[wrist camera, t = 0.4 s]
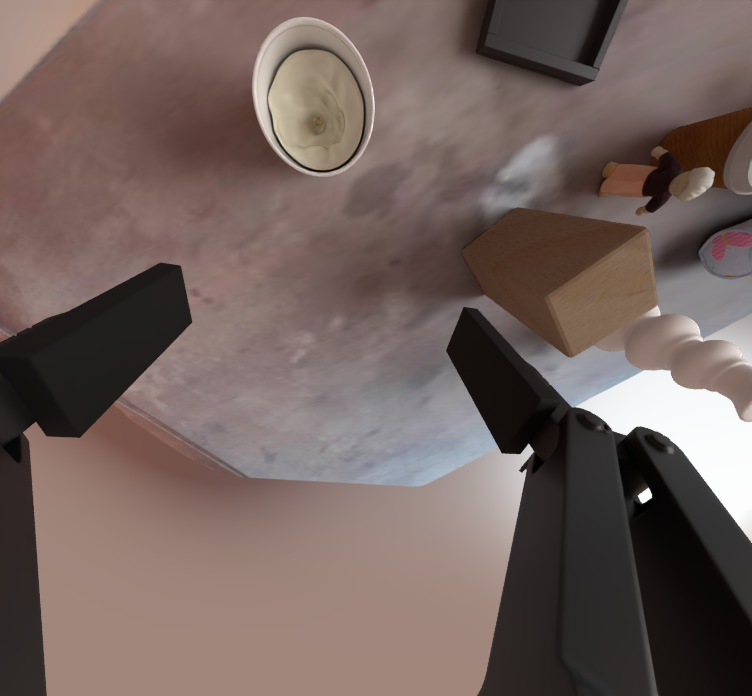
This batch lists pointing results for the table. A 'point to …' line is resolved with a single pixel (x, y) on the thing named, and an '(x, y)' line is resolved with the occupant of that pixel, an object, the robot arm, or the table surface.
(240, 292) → the table surface
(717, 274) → the pencil case
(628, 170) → the grandmother figurine
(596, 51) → the black tray
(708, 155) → the disposable coffee cup
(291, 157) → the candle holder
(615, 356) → the table surface
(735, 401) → the vase
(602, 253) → the wooden block
